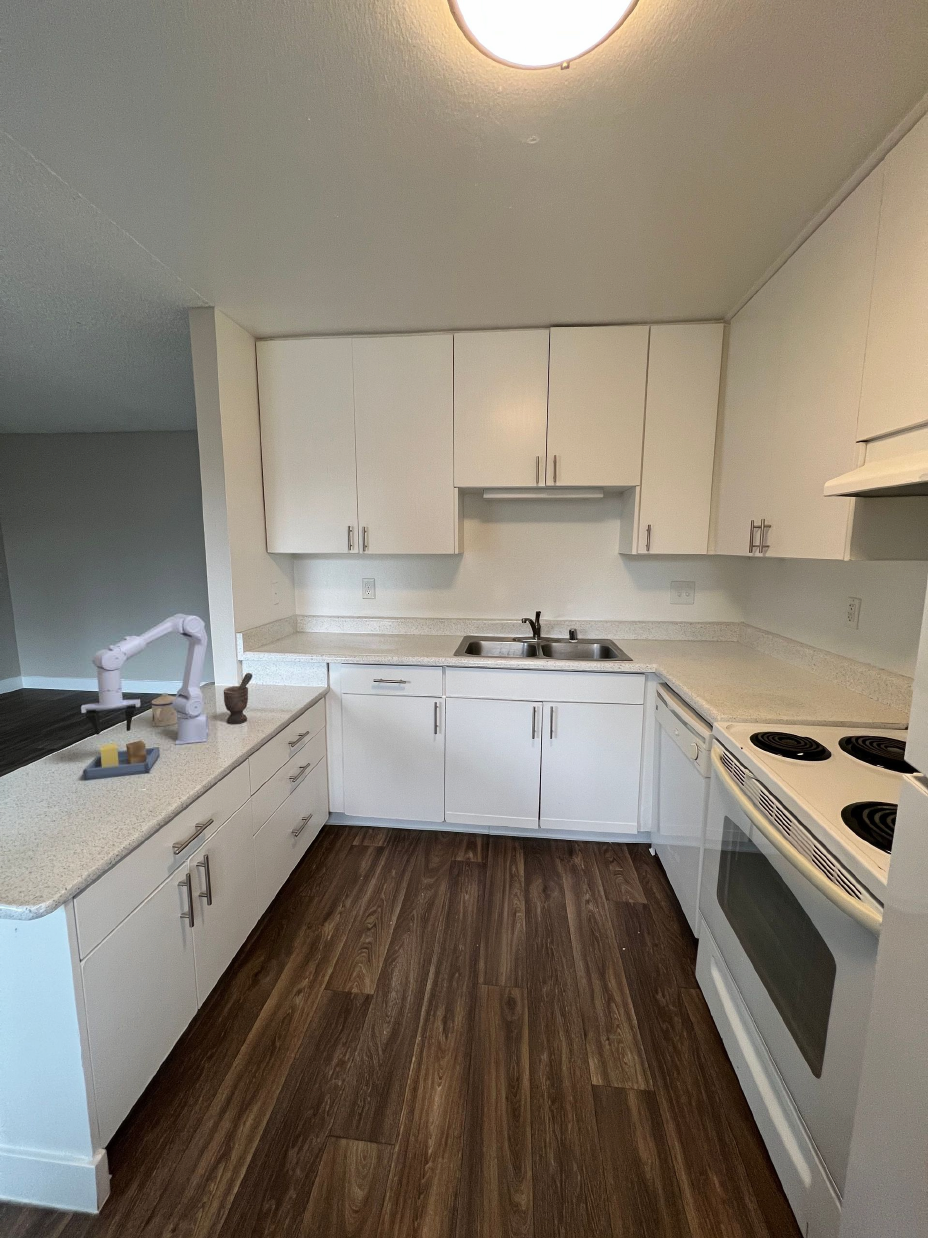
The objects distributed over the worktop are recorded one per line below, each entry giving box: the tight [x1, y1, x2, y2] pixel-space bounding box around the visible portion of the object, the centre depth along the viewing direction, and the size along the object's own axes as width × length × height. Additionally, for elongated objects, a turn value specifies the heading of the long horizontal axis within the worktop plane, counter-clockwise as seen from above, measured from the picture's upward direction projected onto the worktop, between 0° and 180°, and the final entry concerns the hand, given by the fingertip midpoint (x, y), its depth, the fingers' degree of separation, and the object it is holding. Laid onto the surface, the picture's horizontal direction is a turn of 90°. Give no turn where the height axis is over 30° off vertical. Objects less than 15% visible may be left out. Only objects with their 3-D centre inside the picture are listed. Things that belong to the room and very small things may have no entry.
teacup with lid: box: [150, 692, 177, 727], centre depth 183 cm, size 12×9×12 cm
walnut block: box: [125, 740, 147, 764], centre depth 147 cm, size 4×4×6 cm
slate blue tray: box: [82, 746, 161, 782], centre depth 146 cm, size 16×13×3 cm
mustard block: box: [100, 742, 119, 767], centre depth 145 cm, size 4×4×6 cm
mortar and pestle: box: [223, 672, 253, 725], centre depth 187 cm, size 12×9×20 cm
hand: (113, 731), depth 149 cm, fingers open, 7 cm apart
